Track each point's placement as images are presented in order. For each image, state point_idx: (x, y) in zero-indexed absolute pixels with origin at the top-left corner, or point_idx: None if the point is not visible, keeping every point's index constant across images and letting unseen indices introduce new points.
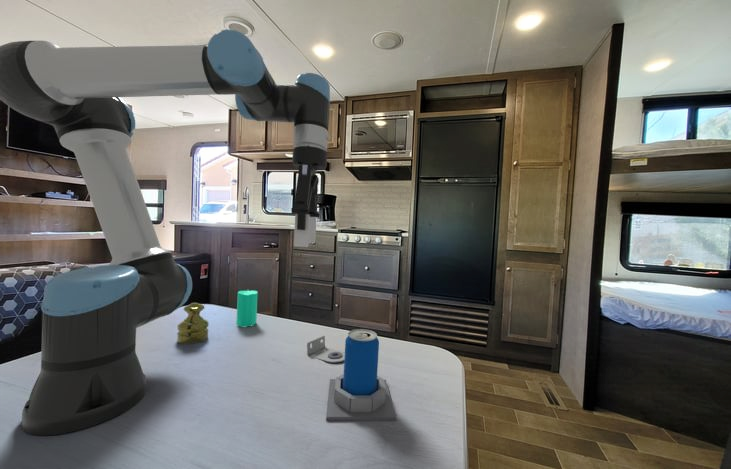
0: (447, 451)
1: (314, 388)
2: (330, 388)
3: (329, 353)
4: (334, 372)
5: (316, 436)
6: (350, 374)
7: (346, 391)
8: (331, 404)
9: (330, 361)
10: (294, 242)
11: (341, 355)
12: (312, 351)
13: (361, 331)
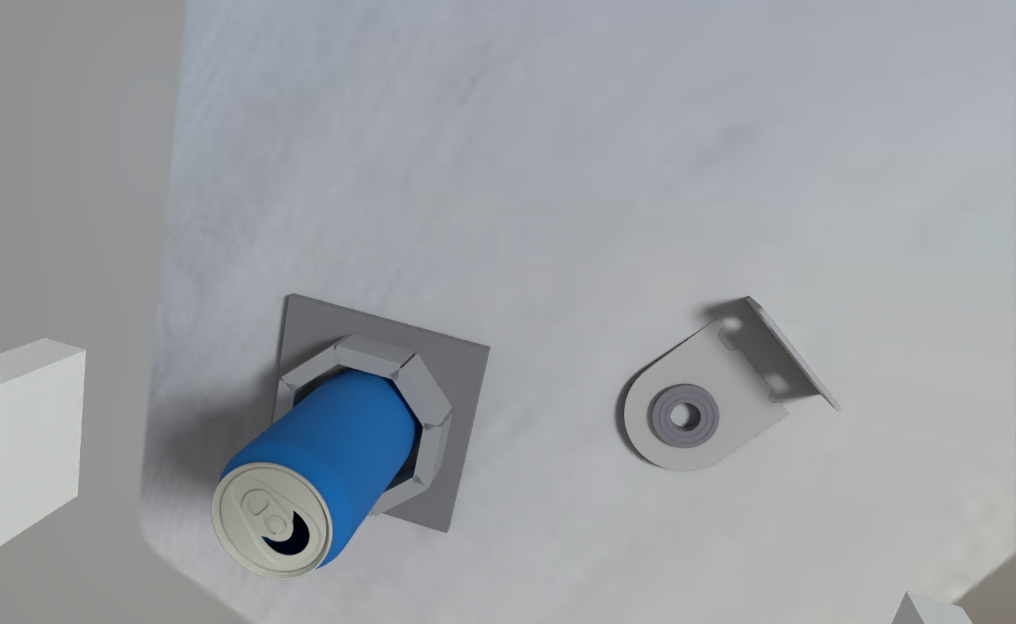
0: (163, 531)
1: (458, 286)
2: (426, 338)
3: (709, 396)
4: (554, 378)
5: (239, 257)
6: (292, 408)
7: (330, 379)
8: (341, 322)
9: (633, 383)
10: (5, 358)
11: (664, 441)
12: (765, 324)
13: (319, 533)
